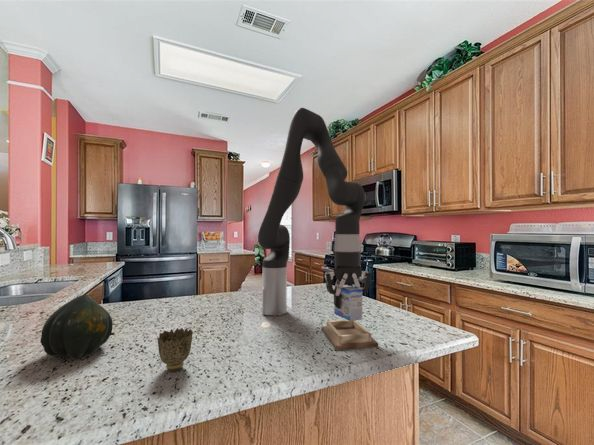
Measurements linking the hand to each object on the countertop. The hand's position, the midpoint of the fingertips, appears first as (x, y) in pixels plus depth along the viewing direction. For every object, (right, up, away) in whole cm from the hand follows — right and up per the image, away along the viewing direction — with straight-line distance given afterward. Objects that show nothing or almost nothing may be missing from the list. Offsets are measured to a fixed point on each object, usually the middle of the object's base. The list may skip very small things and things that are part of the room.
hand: (347, 307), depth 83 cm
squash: (-72, -9, -10) cm, 73 cm away
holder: (0, -9, 0) cm, 9 cm away
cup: (-43, -9, -18) cm, 47 cm away
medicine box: (0, -3, 0) cm, 3 cm away
